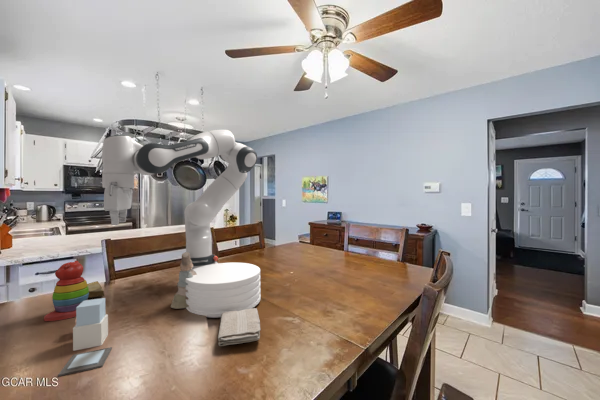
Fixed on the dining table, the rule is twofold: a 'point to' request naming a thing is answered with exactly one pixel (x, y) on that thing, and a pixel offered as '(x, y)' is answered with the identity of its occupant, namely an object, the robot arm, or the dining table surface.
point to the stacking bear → (68, 291)
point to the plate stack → (223, 288)
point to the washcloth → (239, 327)
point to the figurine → (183, 282)
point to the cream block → (90, 334)
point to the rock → (95, 289)
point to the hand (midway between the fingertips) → (119, 223)
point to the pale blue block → (90, 312)
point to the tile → (85, 361)
